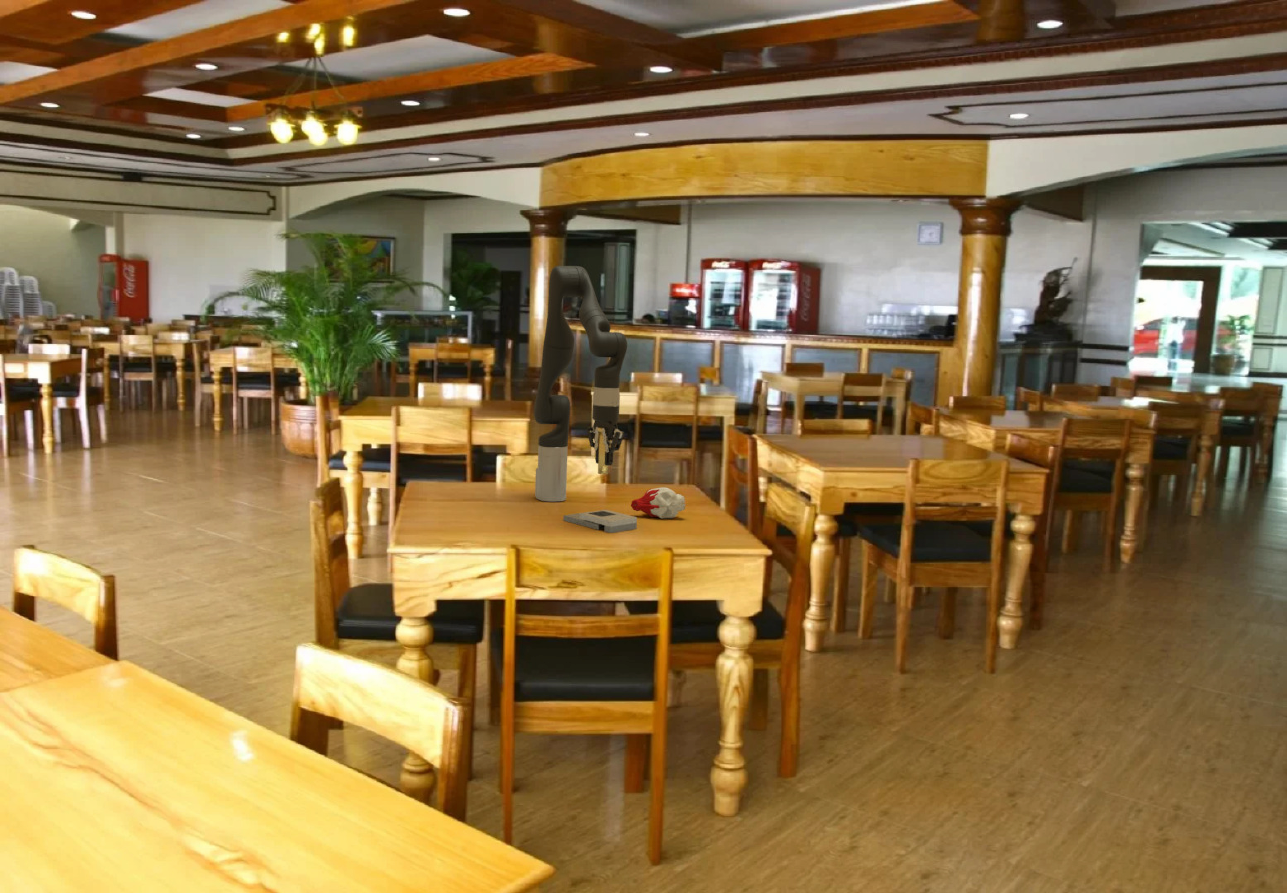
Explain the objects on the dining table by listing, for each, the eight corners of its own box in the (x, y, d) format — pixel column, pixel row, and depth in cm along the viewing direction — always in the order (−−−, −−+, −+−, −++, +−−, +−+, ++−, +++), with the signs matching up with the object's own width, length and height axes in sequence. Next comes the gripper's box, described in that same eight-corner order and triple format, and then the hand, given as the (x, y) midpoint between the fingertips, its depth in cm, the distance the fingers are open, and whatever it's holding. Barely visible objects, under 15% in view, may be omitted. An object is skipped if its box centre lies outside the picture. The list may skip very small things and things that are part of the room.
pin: (593, 472, 304) (594, 427, 302) (604, 471, 307) (605, 426, 305) (603, 475, 301) (604, 429, 300) (614, 473, 304) (615, 428, 302)
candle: (687, 518, 318) (638, 525, 315) (675, 510, 329) (628, 517, 325) (685, 488, 317) (635, 495, 313) (673, 481, 327) (626, 488, 324)
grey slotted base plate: (563, 520, 310) (563, 509, 310) (589, 516, 317) (589, 505, 317) (610, 533, 296) (610, 521, 296) (636, 528, 303) (636, 517, 303)
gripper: (579, 401, 304) (577, 462, 306) (613, 406, 294) (611, 468, 296) (599, 400, 309) (597, 460, 311) (633, 405, 299) (630, 466, 302)
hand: (604, 464), depth 304 cm, fingers closed on pin, 3 cm apart
